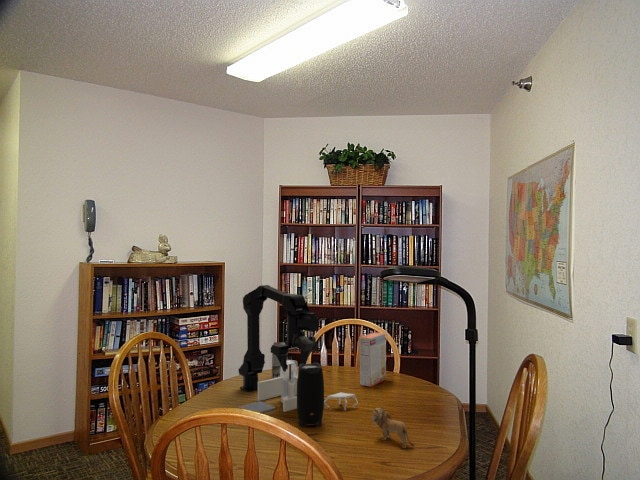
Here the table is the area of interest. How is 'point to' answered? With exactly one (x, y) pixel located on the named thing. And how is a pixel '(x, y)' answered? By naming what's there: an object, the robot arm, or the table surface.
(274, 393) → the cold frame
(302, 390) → the portable speaker
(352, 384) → the table surface
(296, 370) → the beer glass
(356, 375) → the table surface
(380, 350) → the cracker box
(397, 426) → the lion figurine
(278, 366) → the coffee box
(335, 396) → the white legged piece
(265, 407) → the slate mat
